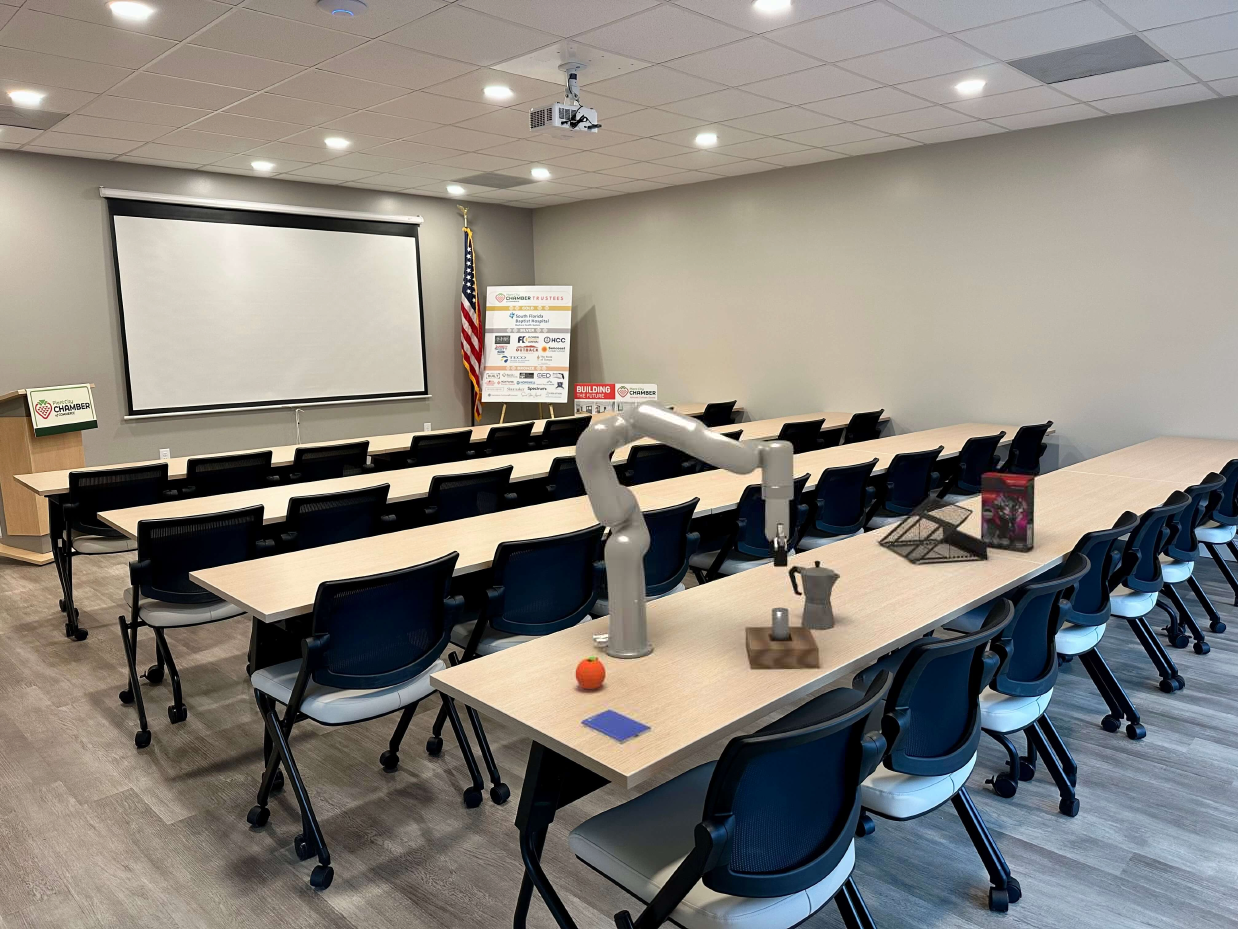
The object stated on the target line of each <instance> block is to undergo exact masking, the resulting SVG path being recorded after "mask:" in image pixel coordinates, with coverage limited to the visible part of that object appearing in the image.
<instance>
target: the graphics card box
mask: <svg viewBox="0 0 1238 929" xmlns="http://www.w3.org/2000/svg"><path fill="white" fill-rule="evenodd" d="M1035 478H1036V475H1027V474H1026V475H1025V474H1012V473H1001V472H1000V473H998V472H985V473H983V474H982V475H981V498H980V499H981V504H980V505H981V507H980V508H981V509H980V510H981V511H980V512H981V513H980V514H981V515H980V516H981V517H980V539H981V540H984V541H986V543H987V548H990V549H991V548H992V549H1001V550H1009V551H1017V552H1024V553H1026V552H1027V553H1028V552H1029V551H1032V550H1034V548H1035V547H1034V545H1035V544H1034V539H1035Z"/></svg>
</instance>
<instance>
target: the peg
mask: <svg viewBox="0 0 1238 929" xmlns="http://www.w3.org/2000/svg"><path fill="white" fill-rule="evenodd" d="M771 627H772V641H789V627H790V625H789V609H788V608H785V607H774V608H772V609H771Z"/></svg>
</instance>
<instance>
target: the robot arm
mask: <svg viewBox="0 0 1238 929" xmlns="http://www.w3.org/2000/svg"><path fill="white" fill-rule="evenodd" d="M644 438H648V439H651V440H652V441H656V442H659V443H661V444H663V445H667V446H669V447H671V448H674V449H676V450H680V451H682V452H683V453H684V452H685V453H687V455H690V456H692V457H695V458H696V459H699V460H700V461H703V462H705V463H707V464H709V465H711V466H713V467H717V468H719V469H722V470H724V471H727V472H730V473H731V474H735V475H739V476H745V475H750V474H752V473H753V472H755V470H757V469H761V499H762V500H765V513H764V514H765V516H764V517H765V518H764V519H765V520H764V521H765V524H764V527H765V528H764V534H765V536H766V538H767V540H768V542H769V557H771V558H773V566H774V568H777V567H778V568H785V567H786V568H787V567H788V563H789V562H788V546H787V544H788V543H787V541H788V540H789V538H790V501H791V500H793V499H794V498H795V497H794V493H795V491H794V490H795V489H794V487H795V486H794V485H795V484H794V445H793V444H792V443H791V442H790V441H787V440H768V441H765V440H763V441H761V440H753V439H741V440H739V441H738V440H736V439H733V438H730V437H727V436H725V435H722V434H720V433H718V432H716V431H714V430H712V429H711V428H709V427H708V426H707V425H705V423H703V422H702V421H701V420H700V419H697V418H696V417H695V418H694V417H693V416H689V415H686V414H684V413H681V412H678V411H676V410H673V409H670V408H668V407H666V406H665V404H663V403H662V402H661V401H658V400H654V399H648V400H644V401H641V402H639V403H637V404H636V405H635V406H633V407H630V408H628V409H626V410H624V411H621V412H618V413H615V414H614V415H611V416H608V417H605V418H602V419H598V420H596V421H594V422H593V423H591V424H590V425H588V427H586V428H585V429H584V431H583V432H581V435H580V436H579V437H578V440H577V442H576V445H575V451H574V453H575V454H574V457H575V461H576V467H577V468H578V471H579V475H580V477H581V480H582V483H583V485H584V489H585V492H586V494H587V497H588V501H589V503H590V505H591V508H592V512H593V514H594V517H595V519H596V521H597V522H598V523H599V524H600V525H602V526H604V527H607V528H609V529H610V531H611V535H610V536H609V538H608V539H607V540H606V543H605V546H604V563H605V568H606V569H605V570H606V577H607V592H608V593H607V594H608V595H607V596H608V616H609V632H605V634H600V633H599V634H598V633H593V635H592V636H593V637H592V638H593V639H592V641H593V643H595V642H596V644H597V645H604V652H605V653H606V655H608V654H609V655H608V656H610V657H614V658H619V659H634V658H642V657H644V656H647V655H649V654H650V653H652V652H653V651H654V644H653V642H652V641H650V640H648V628H647V627H648V626H647V602H646V600H647V599H646V598H647V596H646V581H645V580H646V579H645V570H644V562H643V561H644V560H643V559H644V556H645V554H647V552H648V550H649V548H650V545H651V544H650V543H651V536H650V533H649V529H648V526H647V524H646V521H645V518H644V515H643V512H642V510H641V508H640V505H639V504H640V503H639V501H638V499H637V497H636V496H635V494H634V492H633V491H632V490H631V489H630V488H629V487H627V486H625V485H623V484H620V482H619V479H618V478H617V477H618V476H617V474H616V471H615V468H614V467H613V464H612V463H611V461H610V454H611V453H612V452H614V451H616V450H618V449H620V448H623V447H624V446H627V445H629V444H632V443H635V442H637V441H639V440H642V439H644Z"/></svg>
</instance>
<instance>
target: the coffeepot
mask: <svg viewBox="0 0 1238 929" xmlns="http://www.w3.org/2000/svg"><path fill="white" fill-rule="evenodd" d="M820 564H821V561H820V560H814V566H812V567H806V566H797V565H793V566H792V567H791V568H789V570H788V576H789V579H790V583H791V586H792V588H793V593H794V595H796V596H802V595H804V596H805V597H804V598H805V600H804V606H803V611H802V617H801V623H800V624H801V627H809V629H810V630H814V629H815V630H816V631H817V630H818V631H822V630H830V629H832V628H833V627H835V618H834V612H833V605H832V603H831V596H832V592H833V587H834V586H835V584H836V582H837V581H838V580H839V579H841V575H840V574H839V573H836V572H835V570H834V569H830V568H827V567H822V566H821V565H820ZM820 566H821V567H820ZM795 574H799V575H800V577H801V583H802V589H803V592H800V591H799V585H798V582H797V578H796V575H795ZM815 630H814V631H815Z"/></svg>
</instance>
